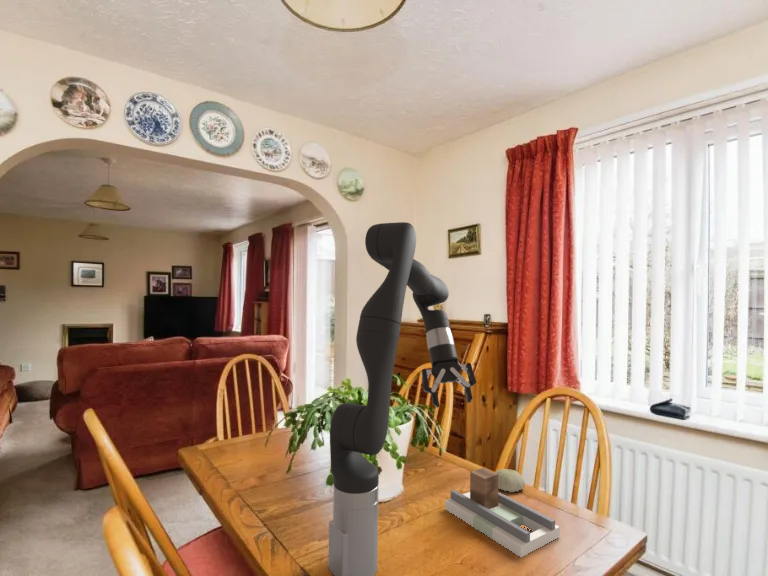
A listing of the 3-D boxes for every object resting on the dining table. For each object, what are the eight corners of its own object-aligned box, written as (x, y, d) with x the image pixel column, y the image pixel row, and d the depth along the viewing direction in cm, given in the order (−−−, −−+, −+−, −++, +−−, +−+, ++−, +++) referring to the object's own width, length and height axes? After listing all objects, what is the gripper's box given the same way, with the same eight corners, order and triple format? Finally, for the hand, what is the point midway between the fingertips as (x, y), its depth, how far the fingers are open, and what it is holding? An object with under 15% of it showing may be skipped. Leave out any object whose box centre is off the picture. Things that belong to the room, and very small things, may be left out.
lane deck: (520, 557, 89) (521, 536, 89) (445, 509, 109) (445, 492, 109) (559, 537, 97) (559, 518, 97) (482, 496, 117) (482, 480, 117)
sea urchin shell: (494, 471, 130) (512, 456, 127) (512, 493, 127) (531, 479, 124) (485, 482, 122) (504, 466, 119) (504, 506, 119) (524, 491, 116)
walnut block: (484, 511, 104) (484, 478, 104) (470, 502, 108) (470, 471, 108) (498, 505, 107) (498, 474, 107) (483, 497, 111) (483, 467, 111)
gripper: (417, 346, 113) (428, 406, 107) (468, 339, 114) (482, 398, 108) (415, 353, 120) (425, 410, 113) (463, 347, 121) (476, 403, 114)
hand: (453, 404), depth 111 cm, fingers open, 8 cm apart
